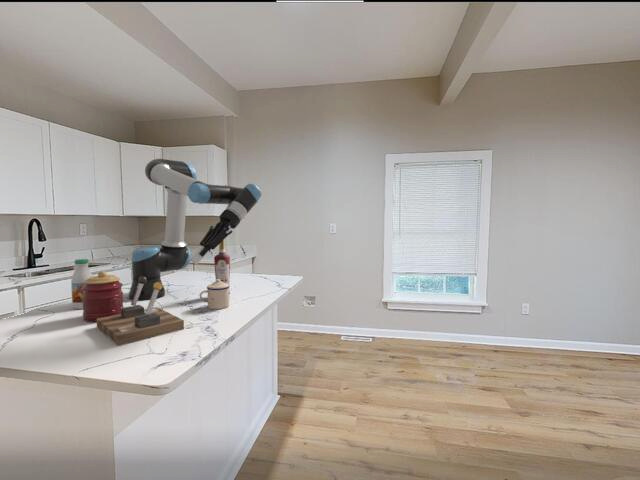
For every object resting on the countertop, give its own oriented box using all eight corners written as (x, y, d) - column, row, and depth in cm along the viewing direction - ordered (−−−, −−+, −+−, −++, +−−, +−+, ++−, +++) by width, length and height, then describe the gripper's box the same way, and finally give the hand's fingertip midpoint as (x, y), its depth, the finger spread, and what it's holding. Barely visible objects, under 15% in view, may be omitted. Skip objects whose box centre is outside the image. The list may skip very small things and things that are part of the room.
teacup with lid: (228, 302, 146) (227, 276, 145) (231, 308, 137) (230, 280, 137) (199, 305, 141) (198, 278, 140) (200, 311, 133) (199, 283, 132)
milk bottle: (68, 308, 136) (65, 260, 134) (87, 303, 143) (85, 257, 141) (80, 310, 133) (77, 261, 131) (99, 305, 140) (97, 258, 139)
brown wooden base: (96, 327, 114) (96, 311, 113) (157, 314, 128) (156, 300, 128) (117, 345, 98) (117, 326, 98) (183, 328, 113) (183, 312, 112)
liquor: (231, 293, 162) (230, 237, 160) (230, 297, 155) (229, 238, 153) (215, 294, 160) (214, 237, 158) (214, 298, 153) (213, 238, 151)
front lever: (142, 311, 108) (153, 280, 110) (150, 313, 110) (161, 282, 112) (145, 313, 106) (157, 281, 108) (153, 315, 108) (165, 283, 110)
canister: (128, 310, 133) (126, 267, 132) (117, 321, 120) (115, 273, 119) (91, 312, 130) (89, 268, 129) (76, 323, 117) (73, 274, 116)
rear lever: (127, 303, 118) (138, 275, 120) (135, 305, 120) (146, 276, 122) (130, 305, 116) (141, 276, 118) (138, 306, 118) (149, 278, 120)
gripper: (248, 222, 127) (209, 270, 116) (229, 221, 136) (191, 266, 125) (236, 208, 123) (194, 257, 112) (218, 208, 132) (177, 253, 121)
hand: (193, 262), depth 118 cm, fingers closed
